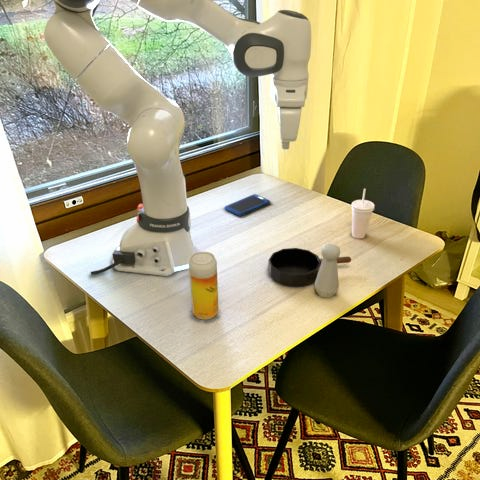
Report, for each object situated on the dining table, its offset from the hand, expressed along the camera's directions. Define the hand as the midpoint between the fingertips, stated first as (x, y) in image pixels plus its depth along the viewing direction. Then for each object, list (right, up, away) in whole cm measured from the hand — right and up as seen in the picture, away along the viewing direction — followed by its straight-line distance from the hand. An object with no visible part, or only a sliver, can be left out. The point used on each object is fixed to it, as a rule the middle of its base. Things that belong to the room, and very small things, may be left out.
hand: (285, 147), depth 132 cm
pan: (+7, -31, +3) cm, 32 cm away
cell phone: (-9, -8, +33) cm, 35 cm away
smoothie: (+23, -20, +18) cm, 35 cm away
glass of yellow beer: (-19, -42, -11) cm, 48 cm away
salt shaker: (+10, -37, -5) cm, 39 cm away
